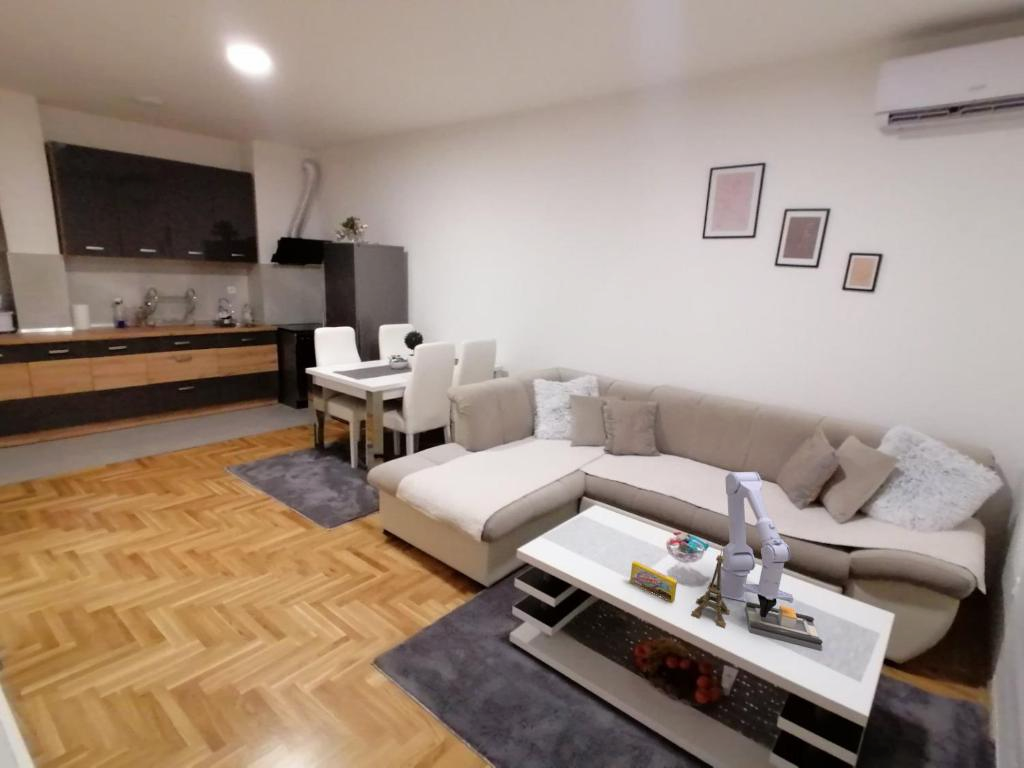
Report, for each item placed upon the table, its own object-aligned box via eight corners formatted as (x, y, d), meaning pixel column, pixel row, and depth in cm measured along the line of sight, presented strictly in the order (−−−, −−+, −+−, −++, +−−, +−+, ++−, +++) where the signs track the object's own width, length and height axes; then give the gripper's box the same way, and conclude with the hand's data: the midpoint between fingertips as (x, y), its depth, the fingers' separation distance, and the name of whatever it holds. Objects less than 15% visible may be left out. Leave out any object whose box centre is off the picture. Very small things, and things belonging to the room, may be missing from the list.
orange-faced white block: (780, 627, 162) (782, 614, 161) (777, 617, 166) (779, 605, 165) (794, 630, 160) (796, 618, 159) (791, 620, 165) (793, 608, 164)
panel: (749, 632, 161) (750, 624, 160) (744, 607, 173) (746, 599, 172) (821, 650, 155) (823, 642, 154) (811, 623, 167) (813, 615, 166)
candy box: (629, 582, 183) (631, 562, 181) (631, 580, 184) (634, 559, 182) (672, 603, 172) (675, 582, 171) (674, 601, 174) (678, 579, 172)
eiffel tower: (729, 610, 171) (742, 543, 165) (724, 628, 162) (737, 558, 156) (697, 599, 176) (708, 533, 170) (690, 615, 167) (702, 547, 161)
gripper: (747, 579, 160) (739, 617, 163) (798, 591, 156) (789, 629, 159) (744, 567, 167) (737, 603, 170) (793, 578, 163) (785, 615, 166)
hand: (762, 615), depth 165 cm, fingers closed
